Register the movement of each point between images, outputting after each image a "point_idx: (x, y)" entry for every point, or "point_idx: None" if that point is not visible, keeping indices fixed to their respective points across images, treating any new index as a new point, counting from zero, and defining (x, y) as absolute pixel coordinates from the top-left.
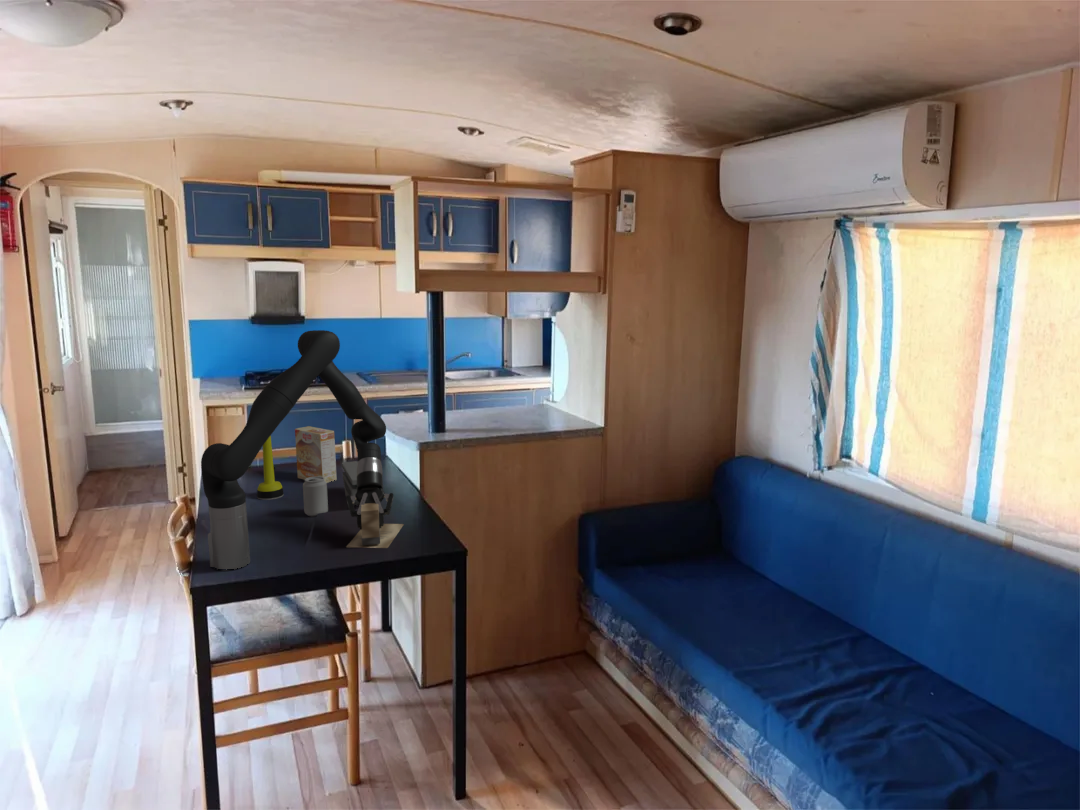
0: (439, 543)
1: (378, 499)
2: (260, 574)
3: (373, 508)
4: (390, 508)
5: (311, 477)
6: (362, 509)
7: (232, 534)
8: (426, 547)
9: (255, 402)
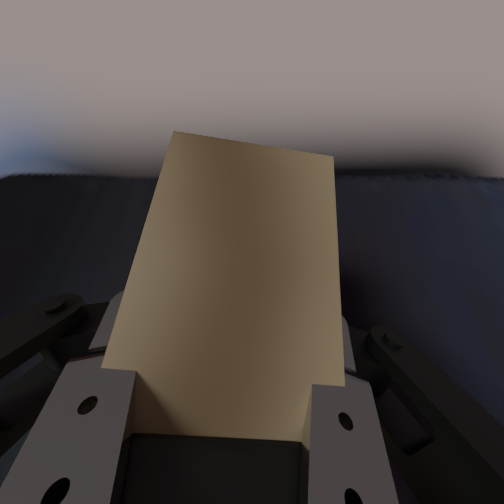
0: (7, 245)
1: (7, 492)
2: (480, 196)
3: (210, 190)
4: (6, 390)
5: None
6: (322, 197)
7: None
8: (68, 225)
9: None
